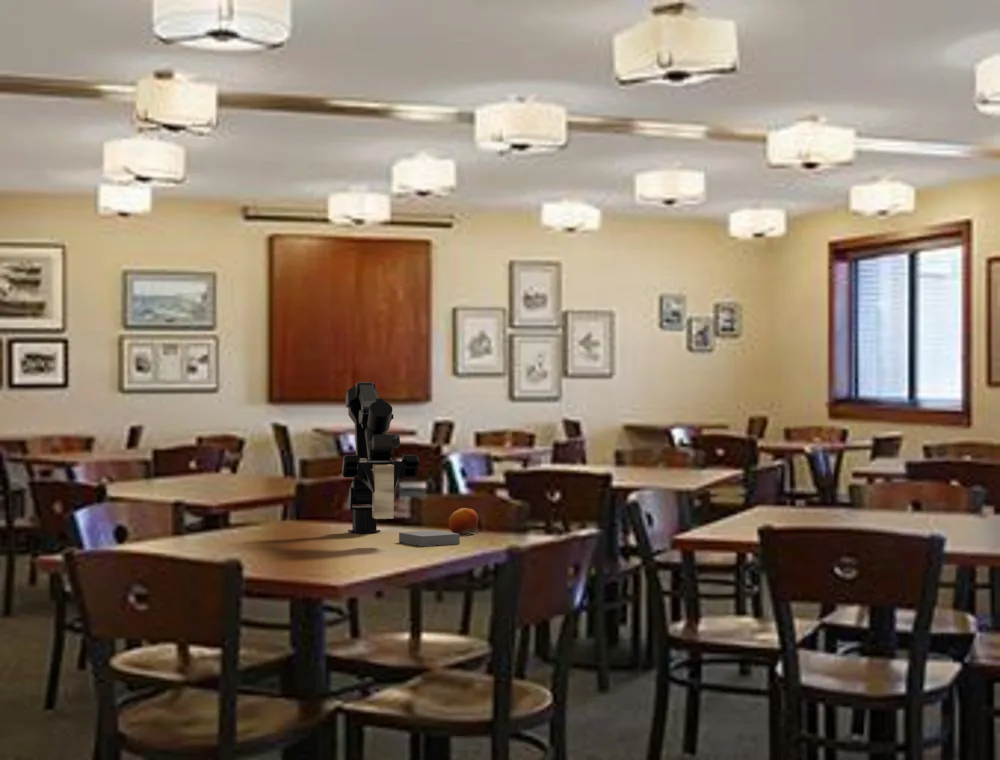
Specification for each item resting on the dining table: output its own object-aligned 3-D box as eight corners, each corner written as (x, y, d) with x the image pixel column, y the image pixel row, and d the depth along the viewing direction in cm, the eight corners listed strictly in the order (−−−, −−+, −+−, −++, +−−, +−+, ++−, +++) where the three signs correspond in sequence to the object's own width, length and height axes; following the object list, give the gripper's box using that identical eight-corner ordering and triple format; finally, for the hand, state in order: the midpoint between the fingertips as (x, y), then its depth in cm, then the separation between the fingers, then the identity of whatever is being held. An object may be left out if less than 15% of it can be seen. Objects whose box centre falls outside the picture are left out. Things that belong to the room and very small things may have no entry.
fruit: (471, 530, 373) (459, 503, 376) (451, 544, 377) (439, 517, 380) (490, 528, 380) (478, 502, 382) (470, 542, 384) (458, 515, 386)
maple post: (372, 517, 350) (372, 464, 350) (390, 516, 351) (391, 464, 352) (374, 518, 346) (375, 465, 346) (393, 518, 347) (393, 465, 347)
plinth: (398, 542, 357) (399, 532, 357) (435, 540, 363) (435, 530, 363) (422, 546, 348) (422, 536, 348) (459, 544, 354) (459, 534, 354)
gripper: (343, 422, 351) (348, 469, 340) (418, 422, 355) (425, 469, 344) (339, 453, 358) (344, 500, 347) (412, 452, 362) (419, 499, 352)
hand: (383, 491), depth 347 cm, fingers closed on maple post, 5 cm apart
